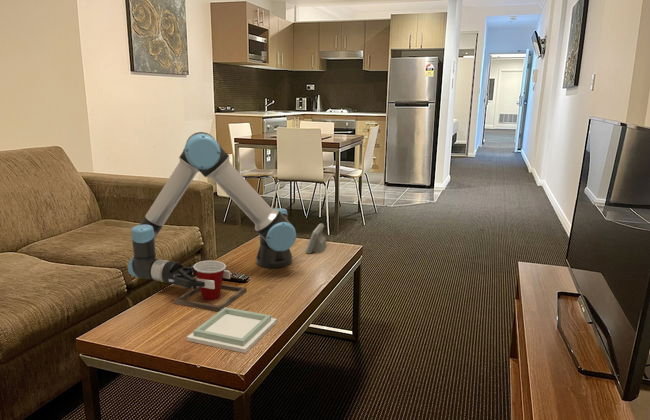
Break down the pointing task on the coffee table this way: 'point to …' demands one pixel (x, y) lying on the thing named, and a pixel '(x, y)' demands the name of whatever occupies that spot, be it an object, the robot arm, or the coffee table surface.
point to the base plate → (233, 329)
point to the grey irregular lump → (317, 240)
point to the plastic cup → (210, 277)
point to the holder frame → (183, 301)
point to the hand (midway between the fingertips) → (221, 279)
